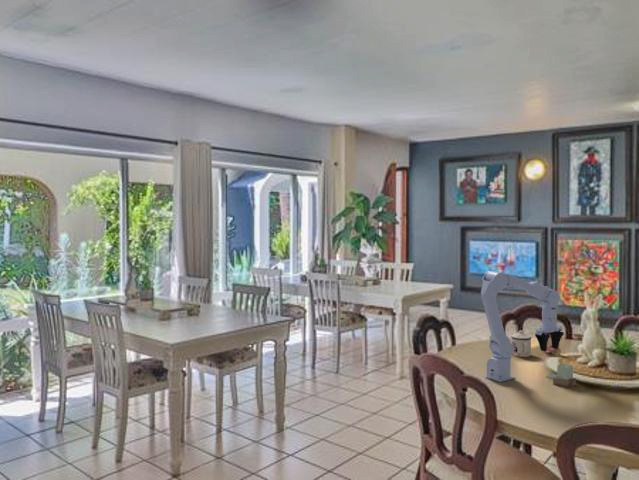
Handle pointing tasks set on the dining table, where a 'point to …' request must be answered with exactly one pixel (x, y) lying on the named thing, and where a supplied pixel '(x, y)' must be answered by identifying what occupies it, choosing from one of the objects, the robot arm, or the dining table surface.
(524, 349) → the teacup with lid
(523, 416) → the dining table surface
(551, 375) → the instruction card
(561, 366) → the sage block
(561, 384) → the walnut slab
